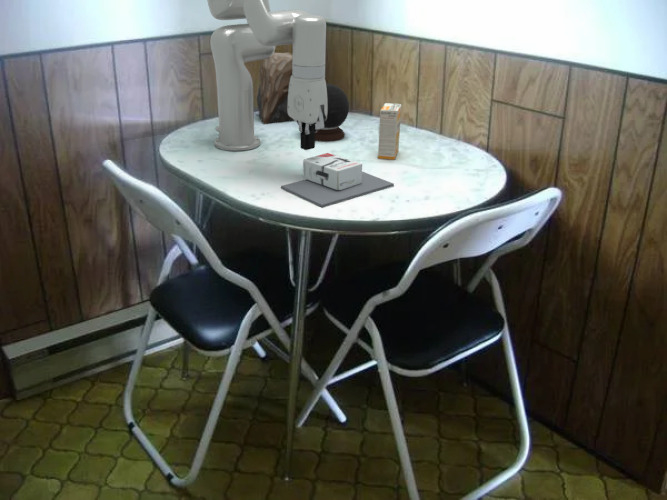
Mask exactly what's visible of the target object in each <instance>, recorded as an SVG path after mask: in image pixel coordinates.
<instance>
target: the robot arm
mask: <svg viewBox="0 0 667 500" xmlns="http://www.w3.org/2000/svg"><path fill="white" fill-rule="evenodd" d="M206 2H207V6H208V9H209V13H210V15H211V16H212V17H213V18H214V19H216V20H219V21H233V20H246V22H247V23H238V24H229V25H223V26H220V27H218V28H217V29H215V30H214V31H213V33H212V34H211V37H210V42H209V43H210V49H211V54H212V58H213V62H214V69H215V70H214V71H215V78H216V93H217V109H218V110H217V111H218V126H215V131H216V132H218V137H217V138H215V139H214V140H213V143H214V147H216V148H217V149H220V150H224V151H232V152H234V151H235V152H237V151H249V150H252V149H255V148H259V146H260V145H261V139H260V138H259V137H258V136H255V115H254V114H255V111H254V108H255V107H254V86H253V85H254V83H253V78H252V77H253V76H252V75H251V72H250V71H249V70H248V68H247V67H246V65H245V63H248V62H249V63H250V62H256V61H262V60H264V59H268V58H270V57H271V56H272V55H273V53H275V52H276V51H275V50H276V47H277V46H284V45H292V53H291V54H292V59H293V60H292V76H291V78H290V83H289V90H288V106H287V111H288V115H289V116H290V117H291V118H293V120H294V121H293V122H296V124H297V125H298V131H299V132H300V149H301V150H304V151H307V150H313V149H315V148H316V141H315V133H316V132H317V130H318V129H323V128H324V122H325V121H326V119H327V108H328V104H327V88H326V83H327V82H326V48H327V47H326V45H327V43H326V42H327V41H326V39H327V22H326V19H325V17H323V16H322V15H318V14H311V13H309V12H307V11H305V10H302V9H289V10H285V9H284V10H275V11H274V10H272V11H271V7H270V2H269V0H207V1H206ZM311 124H312V125H311Z"/></svg>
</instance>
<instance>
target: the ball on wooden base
mask: <svg viewBox="0 0 667 500" xmlns="http://www.w3.org/2000/svg"><path fill="white" fill-rule="evenodd" d="M326 88H327V104H328V108H327V119H326V121H325V122H324V128H323V129H318V130H317V132H316V133H315V142H325V143H326V142H338V141H341V140H343V139H345V136H346V133H345V132H344V130H343V129H342V128H340V127H341V126H342V124H344V123H345V121H346V120H347V118H348V115H349V110H350V104H349V103H350V102H349V100H348V97H347V95H346V93H345V92H344V91H343V90H342V89H341V88H340V87H339V86H337V85H336V84H331V83H327V82H326ZM311 125H312V124H311Z"/></svg>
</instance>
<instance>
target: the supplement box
mask: <svg viewBox="0 0 667 500" xmlns="http://www.w3.org/2000/svg"><path fill="white" fill-rule="evenodd" d="M379 111H380V113H379V130H378V131H379V132H378V148H377V149H378V152H377V158H378V159H381V160H395V159H396V156H397V154H398V152H399V146H400V132H401V117H402V104H401V103H389V102H388V103H386V102H385V103H384V104H383V105H382V107H381V108H380V110H379Z"/></svg>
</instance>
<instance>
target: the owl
mask: <svg viewBox="0 0 667 500" xmlns="http://www.w3.org/2000/svg"><path fill="white" fill-rule="evenodd" d="M292 60H293V59H292V53H291V52H288V51H287V52H274V53H273V55H272V56H271V57H270V58H268V59H264V60H260V61H261V62H260V63H261V64H260V67H259V82H260V83H259V84H258V86H259V87H258V89H257V95H256V104H257V108H258V112H259V113H258V116H259V118H260V121H261V122H262V124H263V125H269V124H277V123H287V122H295V121H294V120H293V118H291V117H290V116H289V115H288V111H287V106H288V90H289V83H290V78H291V76H292Z"/></svg>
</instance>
